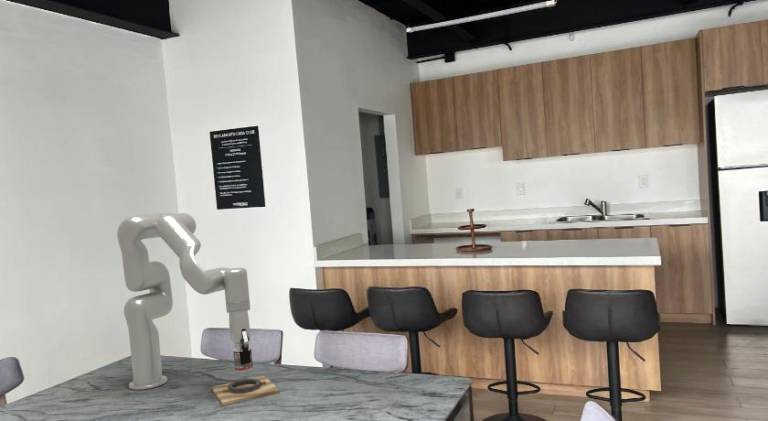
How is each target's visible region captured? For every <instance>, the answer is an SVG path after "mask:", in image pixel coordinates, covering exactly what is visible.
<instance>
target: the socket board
mask: <svg viewBox="0 0 768 421" xmlns="http://www.w3.org/2000/svg"><path fill="white" fill-rule="evenodd" d="M280 391H281V390H280V388H279V387H278V386H276V385H275V383H273V382H272V381H271V380H270V379H269V378H268V377H267V376H266V375H261V376H257V377H252V378H244V379H240V380H239V379H238V380H235V381H233V382H228V383H224V384H219V385H215V386H211V392H213V394H214V395H215V397H216V399H217V400H218V401H219V403H220V404H221V406H222V407H223V406H226V405H227V406H228V405H232V404H236V403H241V402H246V401H249V400H253V399H258V398H259V399H260V398H263V397H267V396H270V395H276V394H280Z"/></svg>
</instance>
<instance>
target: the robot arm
mask: <svg viewBox="0 0 768 421" xmlns="http://www.w3.org/2000/svg"><path fill="white" fill-rule="evenodd" d="M196 229H197V223H196V221H195V218H194V217H193V216H192V215H190V214H189V213H185V212H182V213H181V212H180V213H150V214H149V213H148V214H138V215H131V216H129V217H127V218H125V219H124V220H122V221H121V222H120V224H119V226H118V228H117V232H116V237H117V242H118V245H119V248H120V253H121V258H122V259H121V260H122V267H123V274H124V283H125V287H126V288H127V290H128V291H131V292H134V293H136V292H144V291H148V290H149V292H148V293H143V294H138V295H135V296H133V297H131V298H130V299H128V300H127V301H126V302H125V305H124V306H123V314H124V318H125V321H126V325H127V329H128V336H129V347H130V358H131V369H132V381H130V382H129V384H128V389H131V390H136V391H139V390H147V389H148V390H149V389H153V388H157V387H160V386H162V385H164V384H166V383H167V382H168V376H166V375H163V371H162V357H161V356H162V355H161V346H160V345H161V344H160V335H159V330H158V328H157V326H156V325H155V323H154V321H153V320H157V319H159V318H162V317H165V316H167V315H169V313H171V311H172V309H173V304H174V302H173V294H172V293H173V292H172V291H173V290H172V284H171V277H170V271H169V270H168V268H167V266H166V265H165V264H164V263H163V262H161V261H150V258H149V250H148V249H147V246H146V245H145V243H144V242H143V241H142V240H146V239H155V238H161V239H162V240H163V242H165V244H166V245H167V246H168V247H169V248H170V249H171V250H172V252H173V253H174V254H175V255H176V256H177V258H178V259H179V264H178V265H179V270H180V273H181V276H182V278H183V279H184V280H185V281H186V283H187V284H188V285H189V287H191V288H192V289H193V290H194V291H195V292H196V293H197V294H200V295H205V296H206V295H209V294H210V295H211V294H214V293H216V292H217V293H218V292H221V291H224V297H225V307H226V308H225V309H226V313H227V314H228V324H229V325H228V326H229V338H230V340H231V341H232V342H233V343H236V344H238V342H239V346H240V352H239V353H240V363H241V364H247V363H250V362H251V359H250V349H249V345H250V344H249V343H250V341H251V328H250V327H251V326H250V319H249V318H250V317H249V312H248V311H250V310H251V303H250V302H251V300H250V289H249V280H248V279H249V278H248V272H247V269H246V268H244V267H232V268H231V267H230V268H229V267H217V268H216V267H215V268H212V269H208V270H204V269H203V267H202V266H200V264H199V263H198V261H197V260H196V257H195V256H196V255H197V254H198V252H199V251H200V249H201V246H202V245H201V241H200V240H199V239H198V238H197V236H196V235H194V233H195V232H196ZM240 340H243V342H241V341H240ZM248 341H249V342H248ZM242 344H243V345H242Z"/></svg>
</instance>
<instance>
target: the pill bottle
mask: <svg viewBox="0 0 768 421" xmlns="http://www.w3.org/2000/svg"><path fill="white" fill-rule="evenodd" d="M240 341H241V342H243V340H240ZM248 342H249V343H250V341H248ZM233 343H234V342H233ZM242 345H243V344H242ZM232 349H233V352H232V353H233V363H234V371H235V372H237V373H245V372H250V371H252V370H253V368H254V363H253V355H252V354H253V352H252V346H251V345H250V344H249V349H250V359H251V362H250V363H247V364H241V363H240V353H239V352H240V346H239V342H238V344H236V343H234V347H233V348H232Z"/></svg>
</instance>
